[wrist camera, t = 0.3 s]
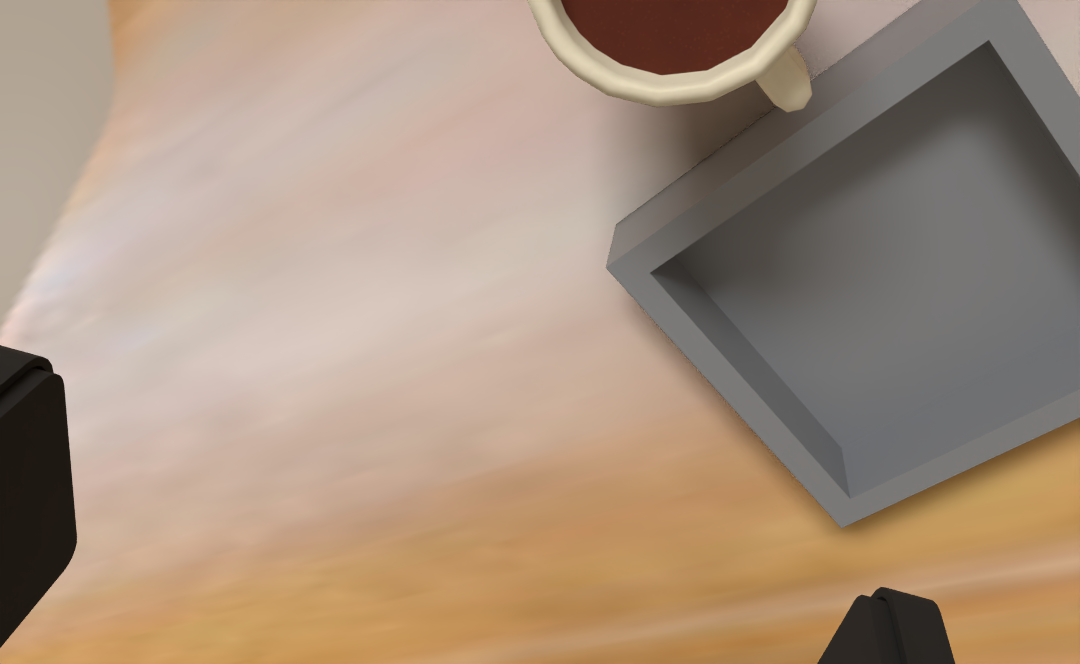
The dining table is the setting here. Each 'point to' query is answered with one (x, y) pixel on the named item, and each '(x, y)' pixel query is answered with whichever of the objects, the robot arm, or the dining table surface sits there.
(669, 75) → the character mug
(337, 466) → the dining table surface
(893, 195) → the grey tray
